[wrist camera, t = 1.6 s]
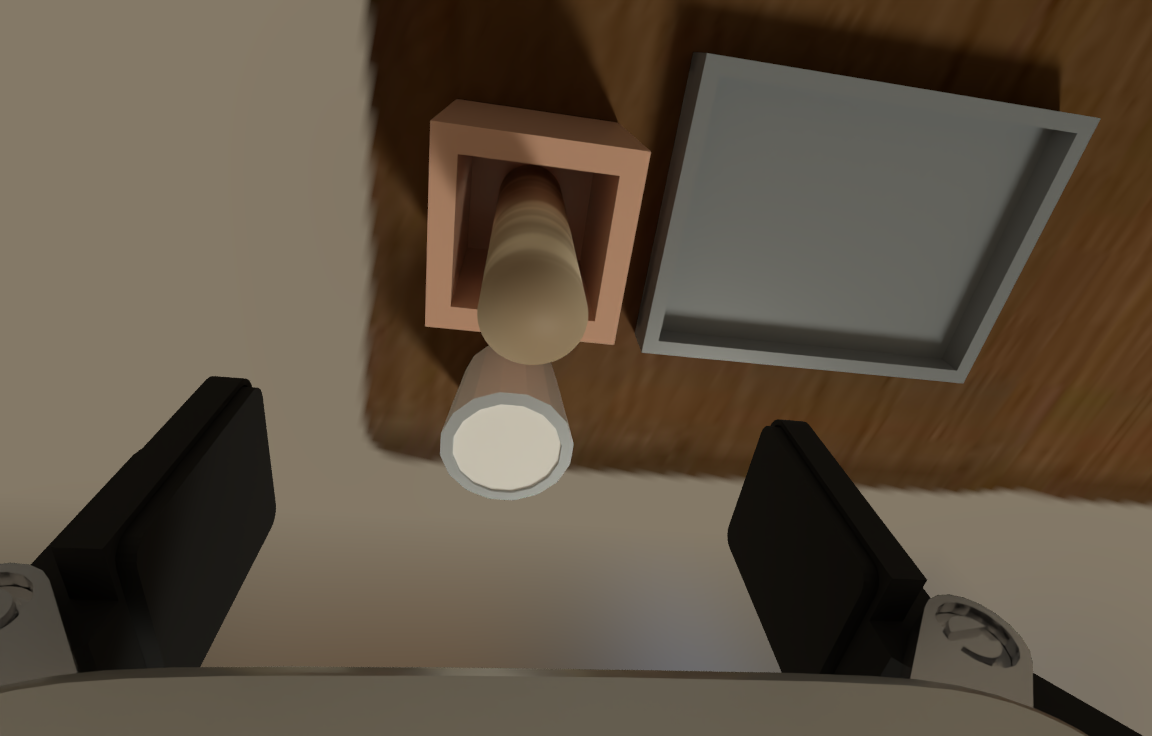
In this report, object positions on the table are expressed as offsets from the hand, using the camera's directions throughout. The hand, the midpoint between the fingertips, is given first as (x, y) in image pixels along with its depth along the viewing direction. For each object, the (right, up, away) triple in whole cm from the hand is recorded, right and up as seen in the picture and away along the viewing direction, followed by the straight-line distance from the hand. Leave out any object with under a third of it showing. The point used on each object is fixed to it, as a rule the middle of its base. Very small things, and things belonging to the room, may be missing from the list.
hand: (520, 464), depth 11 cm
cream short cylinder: (-3, +1, +26) cm, 26 cm away
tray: (+16, +10, +22) cm, 29 cm away
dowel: (-1, +10, +19) cm, 22 cm away
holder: (-1, +11, +20) cm, 23 cm away
